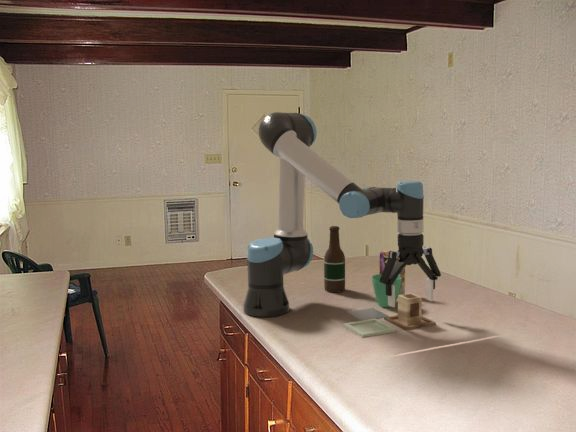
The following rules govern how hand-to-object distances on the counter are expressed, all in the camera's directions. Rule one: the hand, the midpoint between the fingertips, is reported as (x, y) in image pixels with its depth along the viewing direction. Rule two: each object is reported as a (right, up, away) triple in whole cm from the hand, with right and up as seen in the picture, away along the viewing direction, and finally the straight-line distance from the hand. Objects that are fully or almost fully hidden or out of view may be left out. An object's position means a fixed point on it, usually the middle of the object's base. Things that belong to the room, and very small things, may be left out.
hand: (410, 303), depth 170 cm
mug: (-2, -4, +21) cm, 22 cm away
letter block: (0, -6, +1) cm, 6 cm away
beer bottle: (-19, -2, +41) cm, 45 cm away
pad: (-12, -5, +9) cm, 16 cm away
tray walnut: (0, -6, +1) cm, 6 cm away
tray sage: (-13, -7, -4) cm, 16 cm away
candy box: (+1, -2, +34) cm, 34 cm away
